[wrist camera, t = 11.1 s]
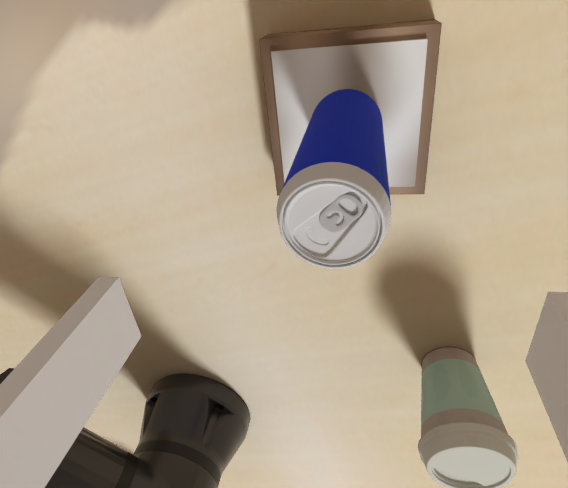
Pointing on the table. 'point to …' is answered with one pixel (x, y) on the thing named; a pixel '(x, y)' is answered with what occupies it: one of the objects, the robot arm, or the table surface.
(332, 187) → the beverage can
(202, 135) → the table surface
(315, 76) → the stand
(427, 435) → the coffee cup
